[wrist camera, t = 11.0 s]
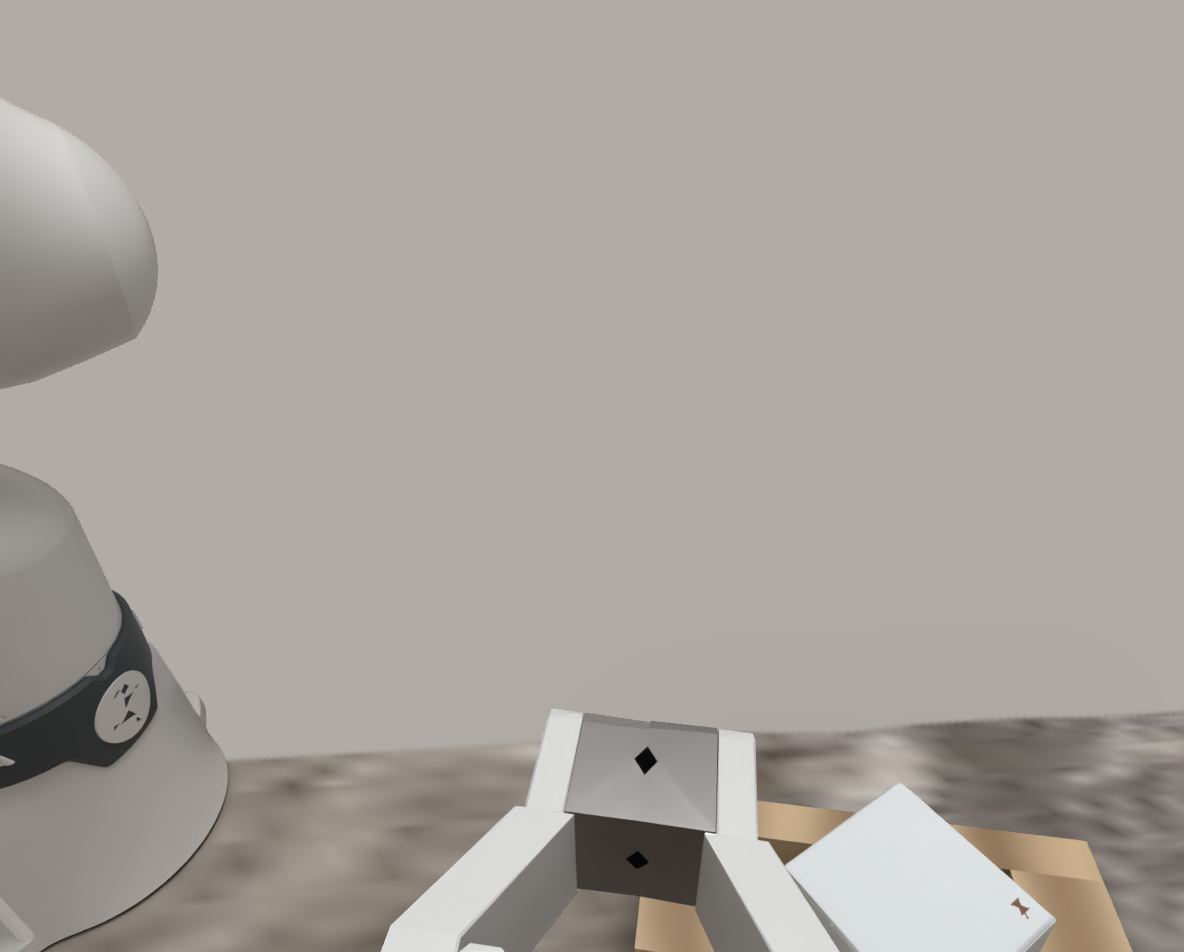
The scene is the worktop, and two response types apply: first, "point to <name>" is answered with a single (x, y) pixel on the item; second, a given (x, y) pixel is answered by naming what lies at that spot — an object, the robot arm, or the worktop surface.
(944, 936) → the supplement box
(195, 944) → the worktop surface
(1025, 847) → the oak rack
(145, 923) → the worktop surface
